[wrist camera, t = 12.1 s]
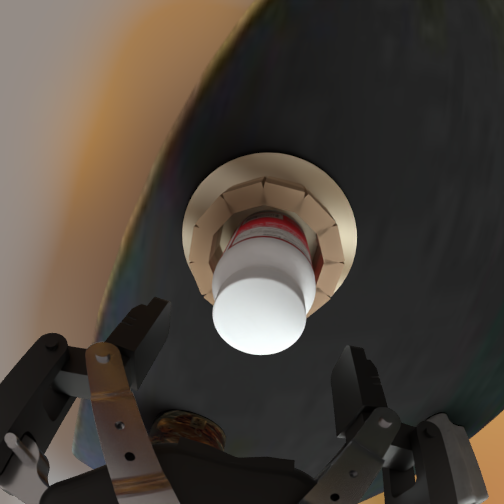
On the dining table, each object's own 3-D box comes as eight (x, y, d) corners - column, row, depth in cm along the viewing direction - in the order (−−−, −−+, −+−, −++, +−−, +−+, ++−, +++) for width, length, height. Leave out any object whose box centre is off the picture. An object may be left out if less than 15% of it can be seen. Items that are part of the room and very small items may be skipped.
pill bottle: (270, 290, 26) (259, 380, 15) (218, 244, 25) (174, 316, 14) (322, 244, 24) (347, 320, 13) (269, 192, 22) (256, 234, 12)
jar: (140, 410, 37) (104, 486, 23) (204, 406, 34) (175, 501, 20) (179, 449, 40) (157, 517, 26) (239, 448, 38) (224, 527, 24)
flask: (411, 429, 33) (435, 532, 15) (440, 409, 31) (475, 512, 13) (442, 444, 36) (464, 524, 17) (466, 428, 34) (494, 507, 15)
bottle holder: (201, 136, 22) (181, 134, 18) (376, 180, 22) (397, 190, 17) (176, 292, 28) (158, 318, 23) (323, 328, 27) (328, 359, 23)
